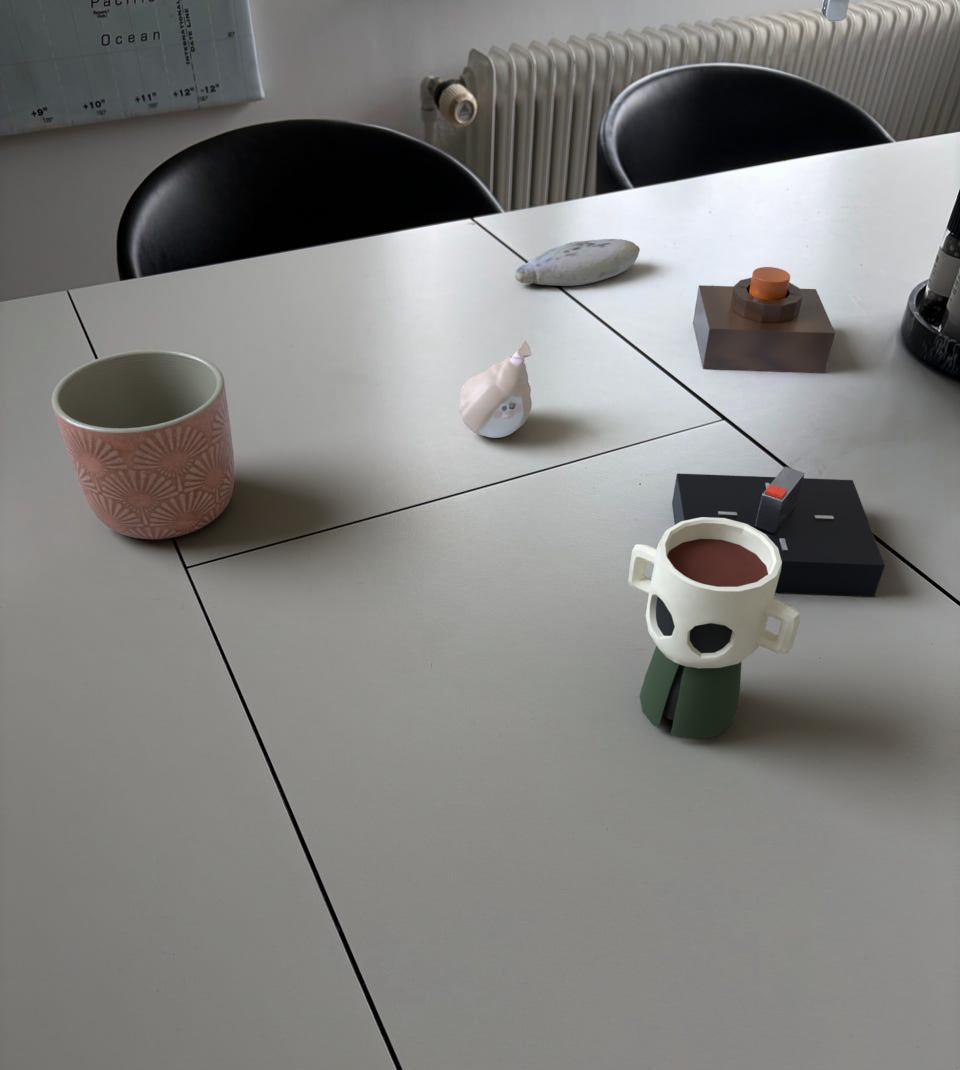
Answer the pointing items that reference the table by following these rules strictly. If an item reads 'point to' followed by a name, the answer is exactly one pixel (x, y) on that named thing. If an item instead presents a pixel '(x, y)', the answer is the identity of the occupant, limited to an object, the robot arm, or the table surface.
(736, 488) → the panel
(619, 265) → the decorative stone
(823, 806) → the table surface
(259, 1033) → the table surface
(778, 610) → the character mug
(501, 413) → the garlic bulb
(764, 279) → the button
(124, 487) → the planter
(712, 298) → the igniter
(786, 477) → the knob
